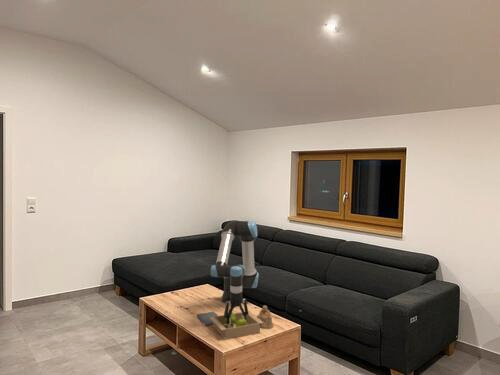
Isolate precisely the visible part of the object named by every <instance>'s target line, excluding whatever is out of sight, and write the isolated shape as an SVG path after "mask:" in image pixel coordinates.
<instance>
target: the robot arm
mask: <svg viewBox="0 0 500 375" xmlns="http://www.w3.org/2000/svg"><path fill="white" fill-rule="evenodd" d="M220 237H221V241H220V245H219V250H218V252H217V257H216V262H215V264H212V265H211V267H210V276H211V277H212V278H213V277H214V278H223V292H222V295H221V302H223V303H225V307H224V314H223V315H224V317H225V318H227V323H228V324H227V328H232V325H231V319H230V316H231V314H232V313H233V312H234V309H235V308H236V307H239V309H240V311H241V312H242V314H243V315H242V319H245V320H246V315H248V311H249V310H248V309H249V308H248V305H247V303H248V302H247V301H248V299H246V298H243V289H255V288H257V287H258V282H259V276H260V275H259V274H260V273H259V272H258V271H257V269H256V268H255V248H254V247H255V246H254V245H255V244H254V242H255V241H256V238H258V225H257V223H256V222H255V221H254V220H253V221H251V220H233V221H230V222H229V223H227V224H226V225H225V227H224V228H223V229H222V231H221V234H220ZM235 238H239V241H240V242H241V252H242V253H241V254H242V264H237V265H228V262H229V258H230V254H231V250H232V249H231V248H232V242H233V241H234V240H235ZM242 303H243V306H242Z"/></svg>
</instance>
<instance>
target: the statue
mask: <svg viewBox="0 0 500 375" xmlns="http://www.w3.org/2000/svg"><path fill="white" fill-rule="evenodd" d="M256 317H257V318H258V319H260V320H261V321H262V322H263V323H261V324H260V329H265V330H269V329H273V328H274V327H275V326H274V322H273V319H272V318H273V317H272V314H271V312H270V310H269V309H268V306H267V305H265V304H264V305H262V309H261V310H260V311H259V314H258V315H256Z"/></svg>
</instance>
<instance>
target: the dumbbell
mask: <svg viewBox="0 0 500 375" xmlns="http://www.w3.org/2000/svg"><path fill="white" fill-rule="evenodd" d="M230 319H231V326H232V325H235V327H239V326H244V325H249V324H248V323H247V322H246V320H245V319H240V320H237V319H236V316H235V314H234V312H232V314H231V316H230ZM225 322H226V323H227V318H225ZM226 325H228V323H227V324H226Z"/></svg>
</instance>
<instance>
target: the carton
mask: <svg viewBox="0 0 500 375" xmlns="http://www.w3.org/2000/svg"><path fill="white" fill-rule="evenodd" d="M233 313H234V312H233ZM234 314H235V316H236V319H237V320H240V319H242V315H243V314H242V312H235V313H234ZM210 319H211V320H212V321H213V325H212V327H213V328H215V330H217V332H218V333H219V334H220V335H221V336H222V337H223V338H224V339H225V340H230V339H234V338H240V337H245V336H251V335H256V334H260V333H261V328H260V324H261V323H263V322H262V321H261V320H260V319H258V318H257V315H255V314H253V313H252V312H251V311H249V310H248V315H246V322H247V324H248V325H244V326H239V327H236V326H233V327H231V328H228V327H227V328H226V327H225V326H224V325H228V324H227V323H226V322H225V317H224V314H222V315H217V316H216V317H210Z"/></svg>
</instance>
